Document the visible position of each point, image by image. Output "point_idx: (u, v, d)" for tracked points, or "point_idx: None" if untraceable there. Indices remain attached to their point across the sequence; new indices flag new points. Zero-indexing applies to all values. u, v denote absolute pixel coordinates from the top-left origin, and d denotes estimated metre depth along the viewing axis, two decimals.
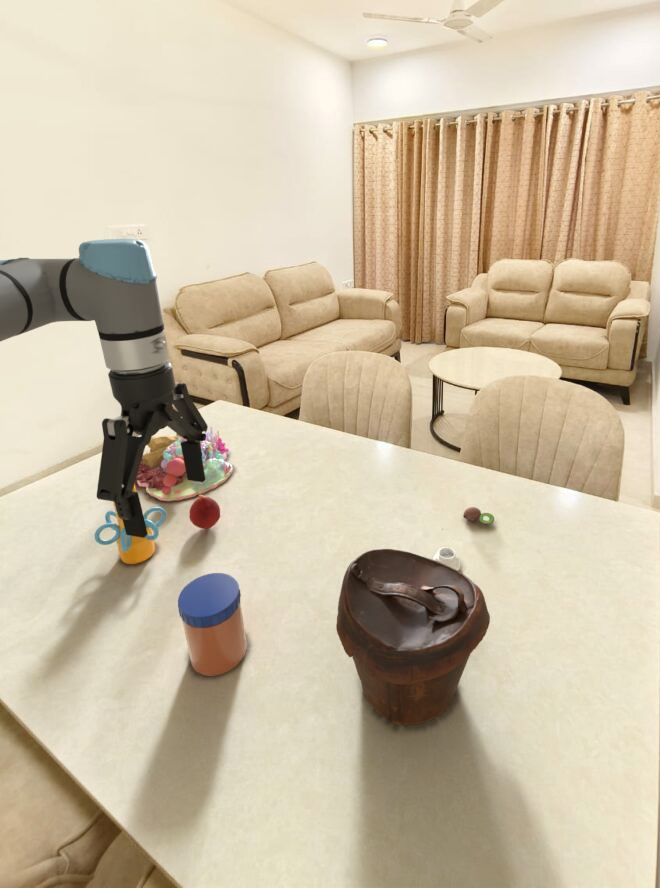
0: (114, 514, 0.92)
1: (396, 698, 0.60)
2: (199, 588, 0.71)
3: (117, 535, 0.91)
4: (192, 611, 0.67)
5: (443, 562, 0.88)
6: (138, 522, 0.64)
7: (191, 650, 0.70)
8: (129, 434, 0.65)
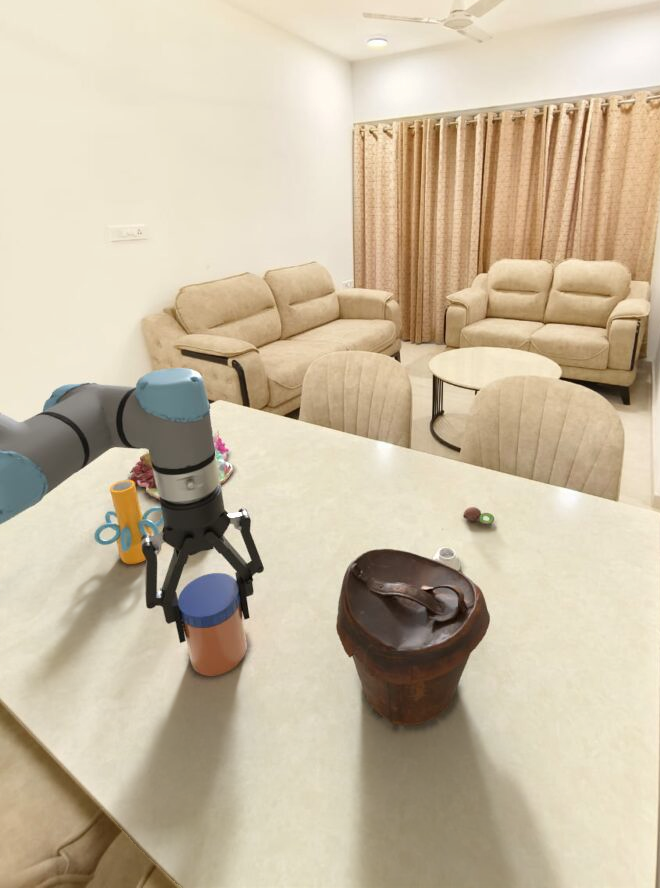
0: (114, 514, 0.92)
1: (396, 698, 0.60)
2: (199, 588, 0.71)
3: (117, 535, 0.91)
4: (192, 611, 0.67)
5: (443, 562, 0.88)
6: (177, 628, 0.68)
7: (191, 650, 0.70)
8: None
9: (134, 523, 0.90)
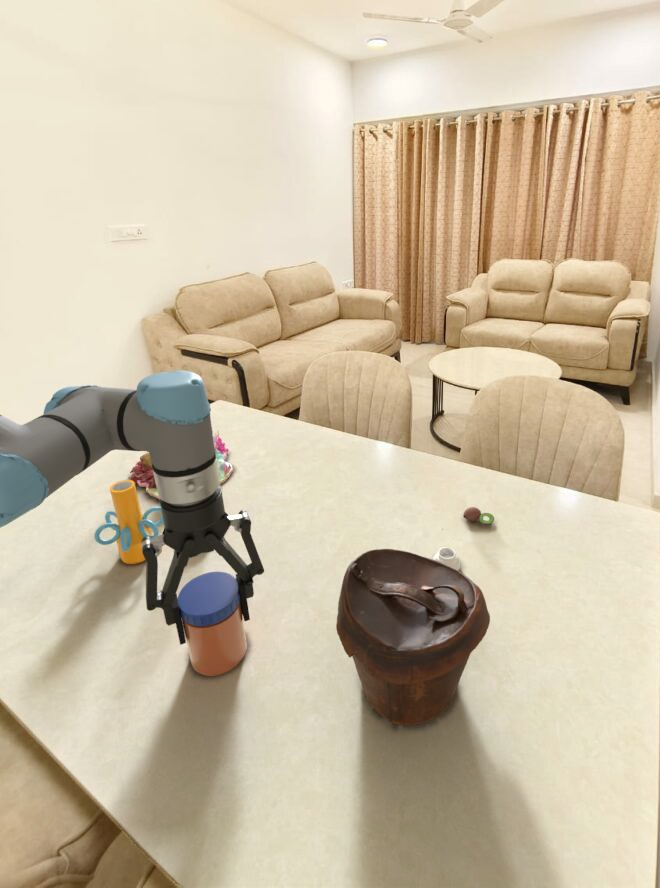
0: (114, 514, 0.92)
1: (396, 698, 0.60)
2: (218, 597, 0.69)
3: (117, 535, 0.91)
4: (223, 576, 0.73)
5: (443, 562, 0.88)
6: (177, 630, 0.68)
7: (191, 650, 0.70)
8: None
9: (134, 523, 0.90)
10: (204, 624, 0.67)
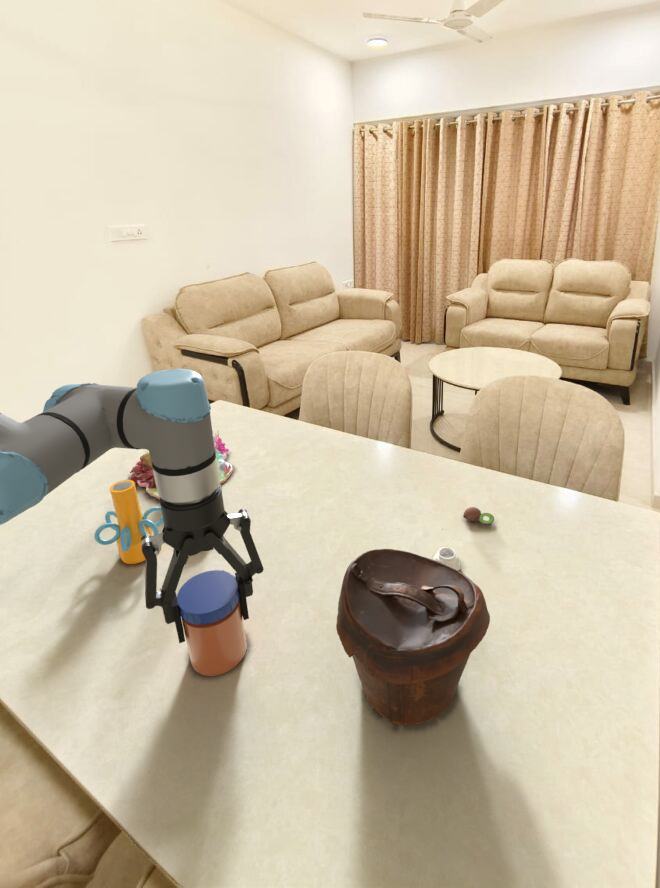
0: (114, 514, 0.92)
1: (396, 698, 0.60)
2: (198, 585, 0.71)
3: (117, 535, 0.91)
4: (191, 608, 0.67)
5: (443, 562, 0.88)
6: None
7: (191, 650, 0.70)
8: None
9: (134, 523, 0.90)
10: None
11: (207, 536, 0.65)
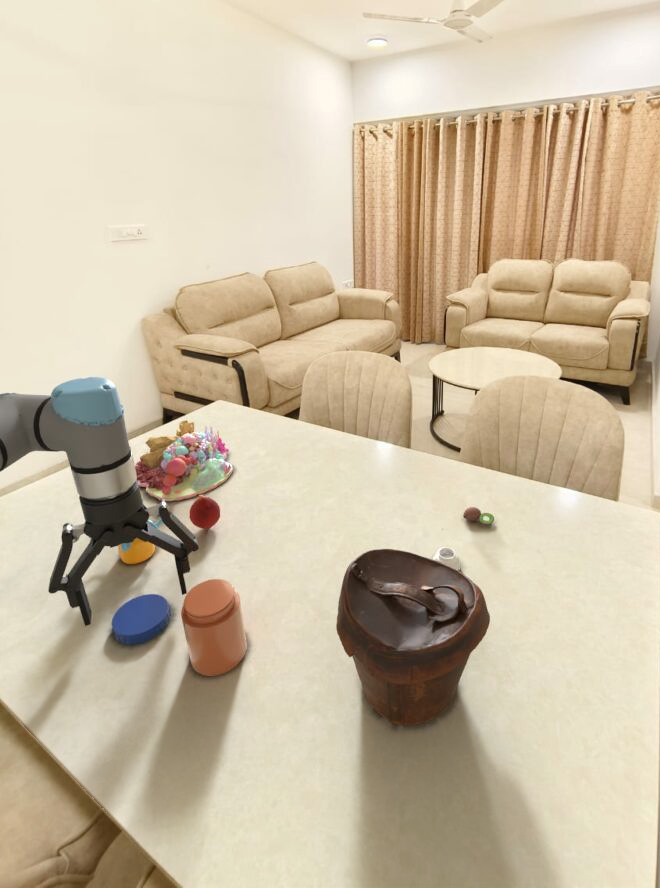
0: None
1: (396, 698, 0.60)
2: (133, 608, 0.80)
3: None
4: (123, 630, 0.76)
5: (443, 562, 0.88)
6: None
7: (191, 650, 0.70)
8: None
9: None
10: None
11: (125, 529, 0.71)
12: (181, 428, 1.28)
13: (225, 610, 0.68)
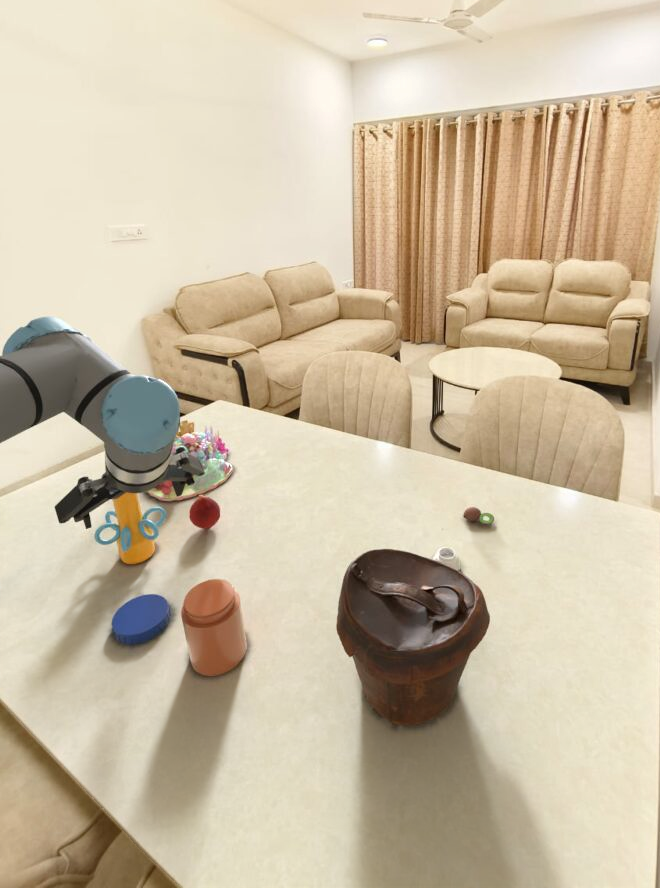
0: (114, 514, 0.92)
1: (396, 698, 0.60)
2: (133, 608, 0.80)
3: (117, 535, 0.91)
4: (123, 630, 0.76)
5: (443, 562, 0.88)
6: None
7: (191, 650, 0.70)
8: None
9: (134, 523, 0.90)
10: None
11: None
12: (181, 428, 1.28)
13: (225, 610, 0.68)
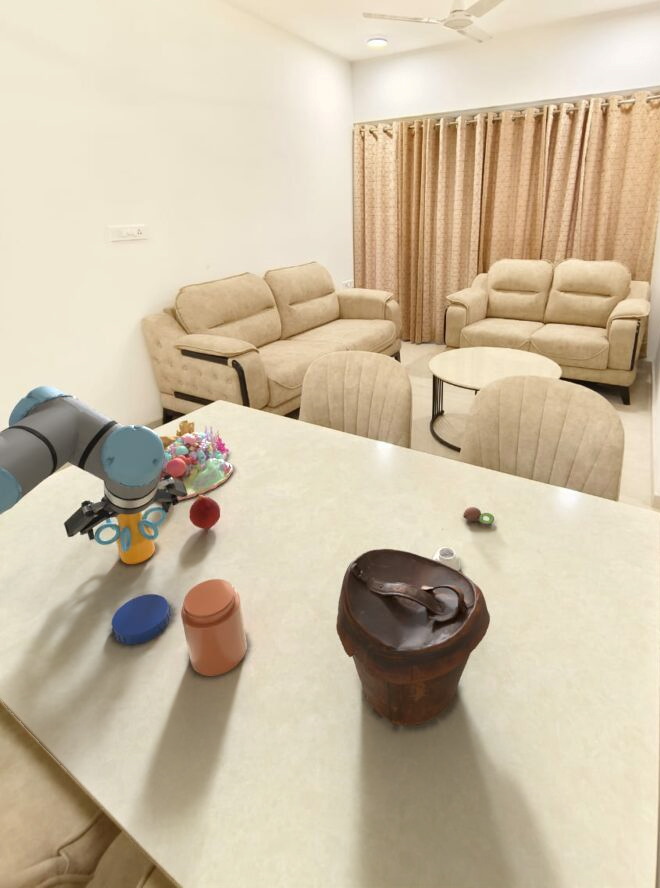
0: None
1: (396, 698, 0.60)
2: (133, 608, 0.80)
3: (117, 535, 0.91)
4: (123, 630, 0.76)
5: (443, 562, 0.88)
6: None
7: (191, 650, 0.70)
8: None
9: (134, 523, 0.90)
10: None
11: None
12: (181, 428, 1.28)
13: (225, 610, 0.68)
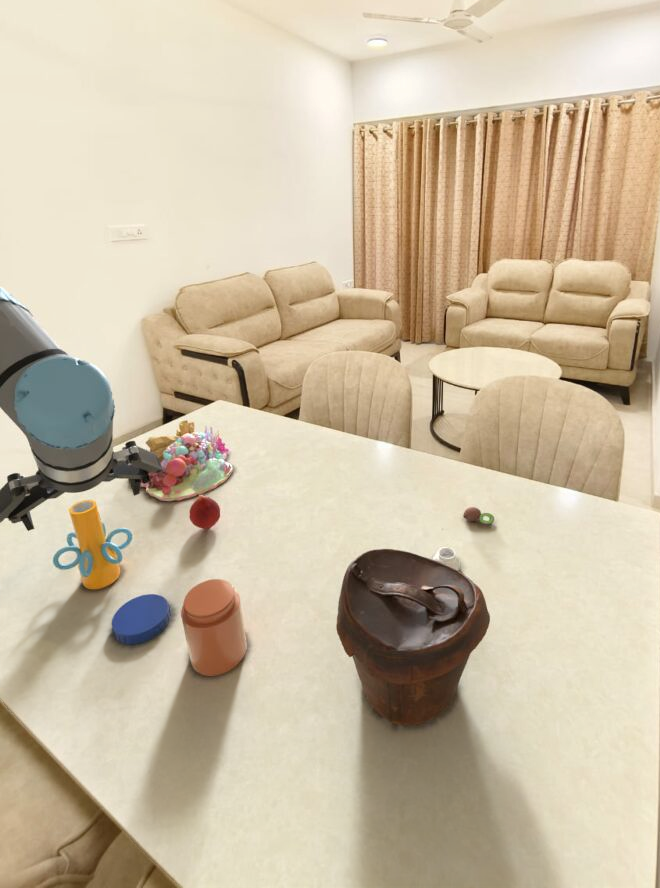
0: (75, 536, 0.86)
1: (396, 698, 0.60)
2: (133, 608, 0.80)
3: (78, 559, 0.85)
4: (123, 630, 0.76)
5: (443, 562, 0.88)
6: None
7: (191, 650, 0.70)
8: None
9: (96, 547, 0.84)
10: None
11: None
12: (181, 428, 1.28)
13: (225, 610, 0.68)
